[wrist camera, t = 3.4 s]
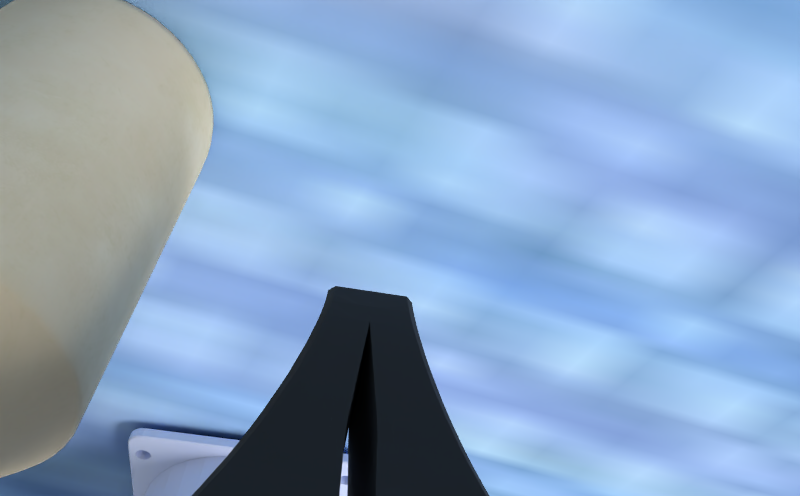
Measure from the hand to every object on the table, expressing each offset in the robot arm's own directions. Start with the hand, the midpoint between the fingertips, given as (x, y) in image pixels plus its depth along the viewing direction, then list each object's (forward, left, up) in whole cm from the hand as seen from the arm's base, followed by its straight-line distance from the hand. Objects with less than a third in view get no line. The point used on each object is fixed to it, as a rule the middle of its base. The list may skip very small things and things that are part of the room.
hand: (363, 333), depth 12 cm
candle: (0, +7, -7) cm, 10 cm away
